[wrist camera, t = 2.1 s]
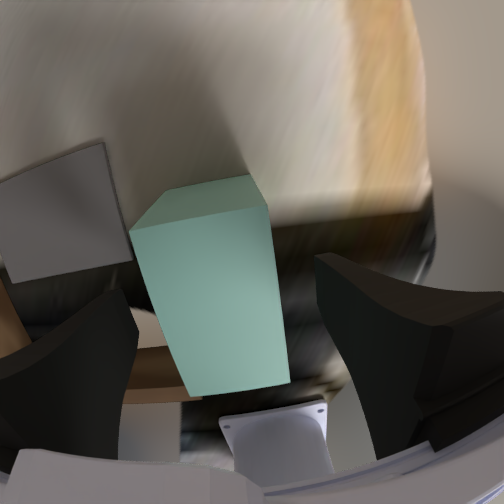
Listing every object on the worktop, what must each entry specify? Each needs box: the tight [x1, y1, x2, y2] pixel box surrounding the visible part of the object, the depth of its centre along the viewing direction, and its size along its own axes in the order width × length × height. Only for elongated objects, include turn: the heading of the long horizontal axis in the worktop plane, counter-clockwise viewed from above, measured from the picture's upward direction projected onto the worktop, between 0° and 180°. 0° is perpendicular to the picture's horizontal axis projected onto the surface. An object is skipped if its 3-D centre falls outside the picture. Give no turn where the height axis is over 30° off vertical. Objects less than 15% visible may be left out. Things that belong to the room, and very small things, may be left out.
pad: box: [0, 142, 134, 284], centre depth 13 cm, size 6×9×1 cm, turn 99°
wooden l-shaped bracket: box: [0, 278, 202, 404], centre depth 13 cm, size 15×14×4 cm
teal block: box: [129, 174, 290, 397], centre depth 12 cm, size 7×4×6 cm, turn 9°
